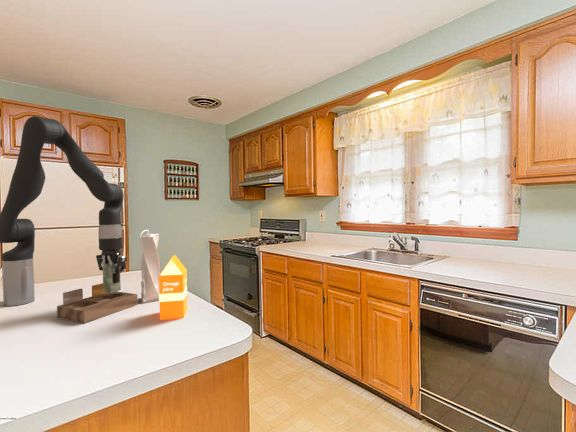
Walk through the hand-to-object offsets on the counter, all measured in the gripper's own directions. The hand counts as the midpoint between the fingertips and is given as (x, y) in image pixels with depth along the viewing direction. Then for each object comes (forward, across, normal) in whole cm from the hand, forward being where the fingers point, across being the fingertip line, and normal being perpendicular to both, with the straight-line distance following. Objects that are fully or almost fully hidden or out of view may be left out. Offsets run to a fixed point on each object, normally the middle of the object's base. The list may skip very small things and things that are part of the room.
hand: (111, 282), depth 112 cm
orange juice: (+10, +28, +2) cm, 30 cm away
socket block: (+9, 0, -5) cm, 10 cm away
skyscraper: (+9, +6, +12) cm, 16 cm away
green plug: (+3, 0, 0) cm, 3 cm away
